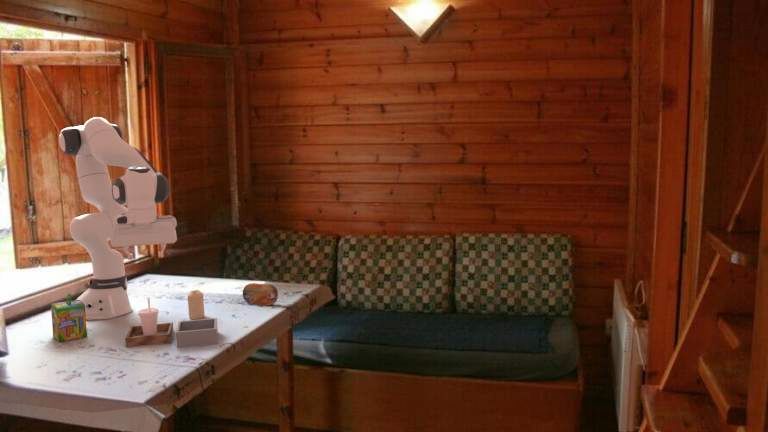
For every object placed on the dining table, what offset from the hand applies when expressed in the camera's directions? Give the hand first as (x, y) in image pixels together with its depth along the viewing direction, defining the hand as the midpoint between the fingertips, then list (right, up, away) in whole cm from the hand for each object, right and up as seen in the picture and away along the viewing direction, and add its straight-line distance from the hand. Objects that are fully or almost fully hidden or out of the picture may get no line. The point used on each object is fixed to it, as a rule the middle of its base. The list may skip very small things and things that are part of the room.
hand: (145, 258), depth 216 cm
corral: (0, -27, +3) cm, 27 cm away
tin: (+30, -21, +44) cm, 57 cm away
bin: (+17, -27, +1) cm, 32 cm away
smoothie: (0, -27, +3) cm, 28 cm away
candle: (+9, -24, +28) cm, 38 cm away
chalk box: (-29, -27, +8) cm, 40 cm away
